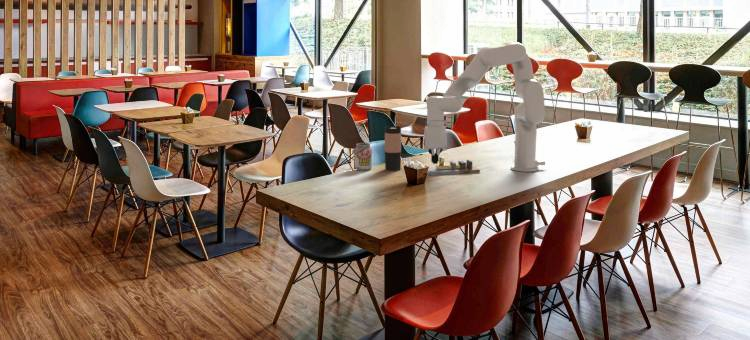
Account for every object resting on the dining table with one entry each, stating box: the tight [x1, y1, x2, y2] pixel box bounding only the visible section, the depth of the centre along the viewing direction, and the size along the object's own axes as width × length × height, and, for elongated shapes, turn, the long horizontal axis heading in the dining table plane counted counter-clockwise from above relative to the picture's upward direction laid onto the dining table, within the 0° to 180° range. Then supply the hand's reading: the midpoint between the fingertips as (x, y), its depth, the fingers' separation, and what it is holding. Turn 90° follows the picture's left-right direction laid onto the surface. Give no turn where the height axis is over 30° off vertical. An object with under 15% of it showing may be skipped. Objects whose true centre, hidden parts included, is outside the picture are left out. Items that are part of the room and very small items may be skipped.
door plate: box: [427, 160, 460, 176], centre depth 313 cm, size 14×9×5 cm, turn 101°
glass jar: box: [351, 142, 373, 171], centre depth 321 cm, size 9×8×12 cm
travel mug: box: [384, 125, 402, 172], centre depth 319 cm, size 8×8×20 cm
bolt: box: [435, 156, 461, 170], centre depth 313 cm, size 12×2×5 cm, turn 101°
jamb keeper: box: [457, 159, 481, 175], centre depth 315 cm, size 10×9×5 cm
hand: (434, 163), depth 312 cm, fingers closed
